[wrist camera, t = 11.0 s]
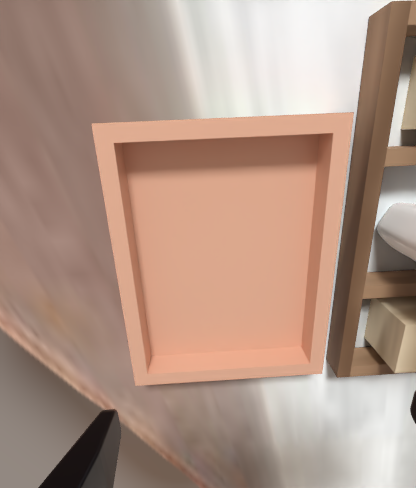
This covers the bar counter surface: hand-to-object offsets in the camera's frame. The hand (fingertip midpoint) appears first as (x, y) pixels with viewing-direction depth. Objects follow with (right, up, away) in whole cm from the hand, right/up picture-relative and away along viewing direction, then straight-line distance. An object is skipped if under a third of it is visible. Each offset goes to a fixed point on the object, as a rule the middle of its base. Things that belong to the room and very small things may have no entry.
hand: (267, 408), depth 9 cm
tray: (-1, +4, +12) cm, 13 cm away
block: (+13, -1, +15) cm, 20 cm away
